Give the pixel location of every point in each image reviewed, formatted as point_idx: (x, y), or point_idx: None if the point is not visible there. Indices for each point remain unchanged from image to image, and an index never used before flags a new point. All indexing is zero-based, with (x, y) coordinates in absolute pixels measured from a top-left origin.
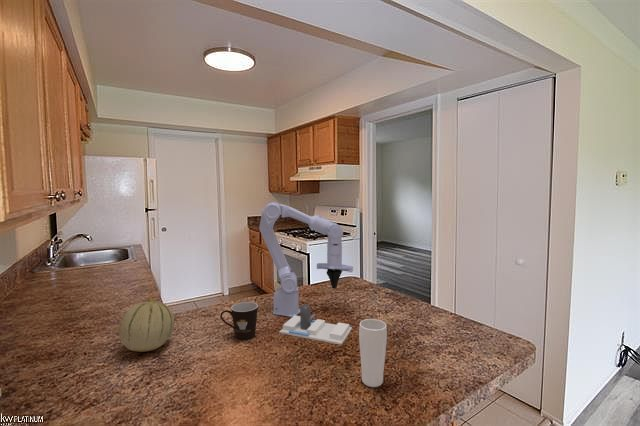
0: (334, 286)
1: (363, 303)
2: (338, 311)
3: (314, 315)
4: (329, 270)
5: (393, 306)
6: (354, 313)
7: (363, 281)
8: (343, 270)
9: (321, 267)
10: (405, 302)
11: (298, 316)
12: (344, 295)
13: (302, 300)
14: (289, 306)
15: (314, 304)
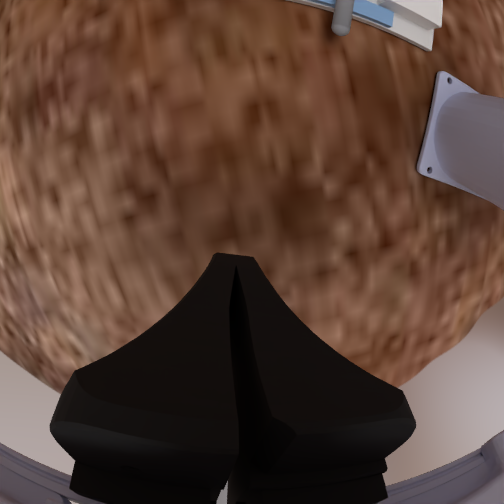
0: (220, 262)
1: (116, 320)
2: (207, 192)
3: (336, 11)
4: (341, 481)
5: (17, 305)
6: (112, 189)
7: None
8: (30, 467)
9: (465, 473)
10: (11, 339)
11: (419, 8)
12: None
13: (413, 292)
14: (491, 96)
15: (361, 261)
